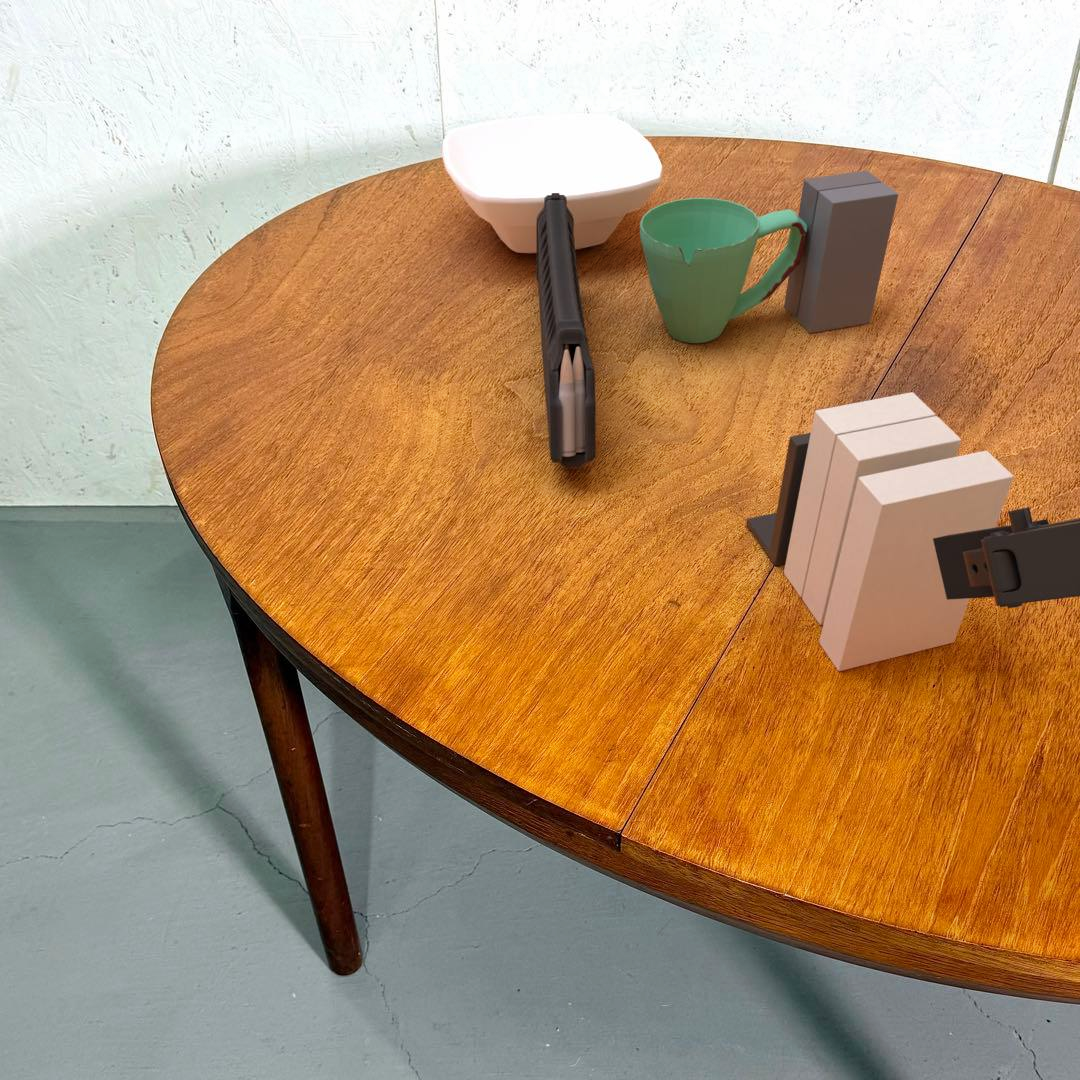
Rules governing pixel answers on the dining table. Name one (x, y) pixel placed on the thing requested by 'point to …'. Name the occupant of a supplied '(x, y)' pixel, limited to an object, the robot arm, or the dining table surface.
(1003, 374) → the dining table surface
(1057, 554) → the robot arm
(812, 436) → the white books
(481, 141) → the bowl
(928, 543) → the thin book
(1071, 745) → the dining table surface
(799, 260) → the mug
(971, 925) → the dining table surface
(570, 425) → the magazine
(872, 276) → the grey books
